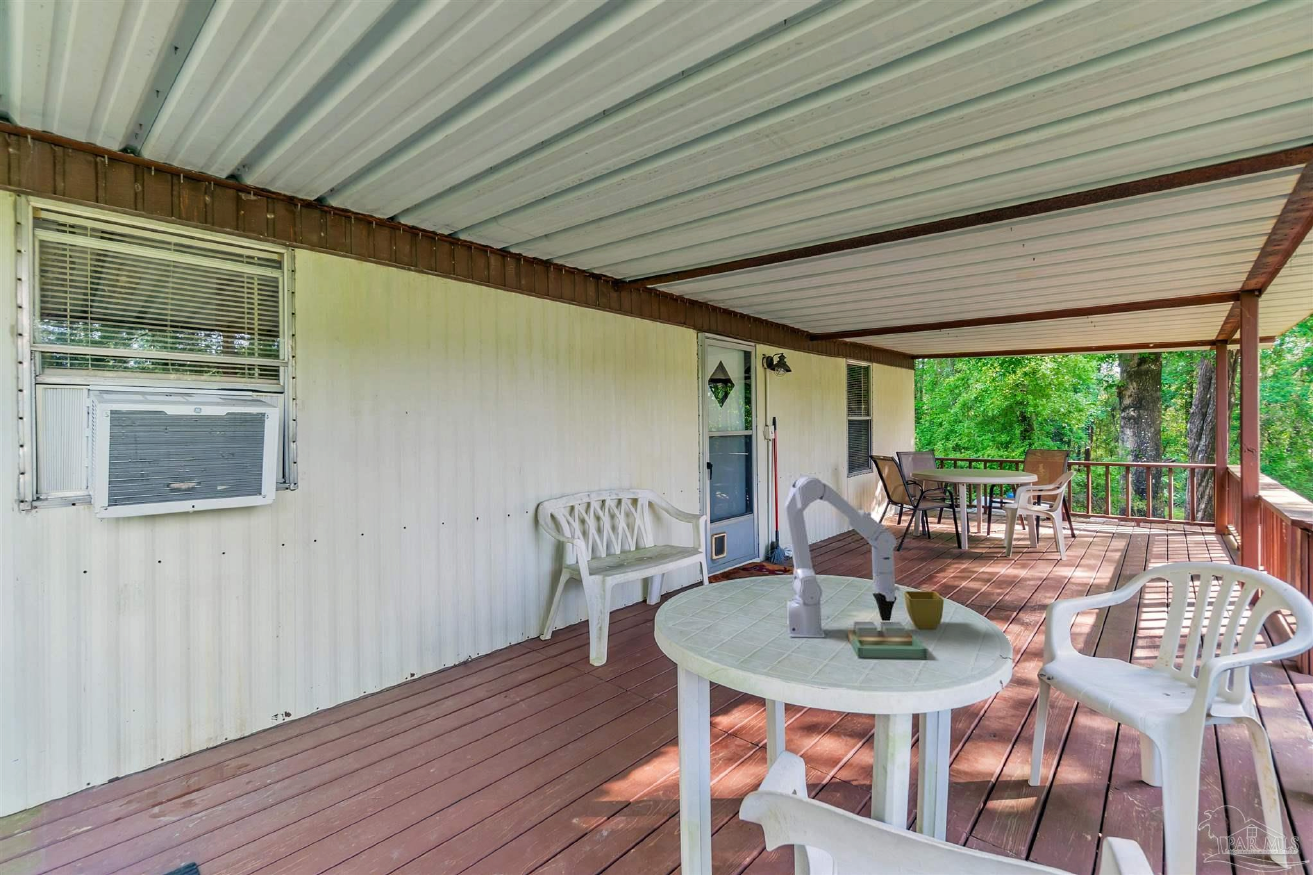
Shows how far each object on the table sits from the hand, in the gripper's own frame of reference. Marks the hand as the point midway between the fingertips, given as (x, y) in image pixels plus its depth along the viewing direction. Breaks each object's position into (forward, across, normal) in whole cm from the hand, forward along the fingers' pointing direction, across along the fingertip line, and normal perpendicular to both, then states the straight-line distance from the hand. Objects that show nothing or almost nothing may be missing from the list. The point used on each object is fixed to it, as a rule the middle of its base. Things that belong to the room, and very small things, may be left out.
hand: (885, 620), depth 162 cm
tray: (+3, -17, +4) cm, 18 cm away
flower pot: (+3, +4, -11) cm, 12 cm away
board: (+3, -9, +4) cm, 10 cm away
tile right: (+1, -8, 0) cm, 8 cm away
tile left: (+1, -8, +7) cm, 11 cm away
